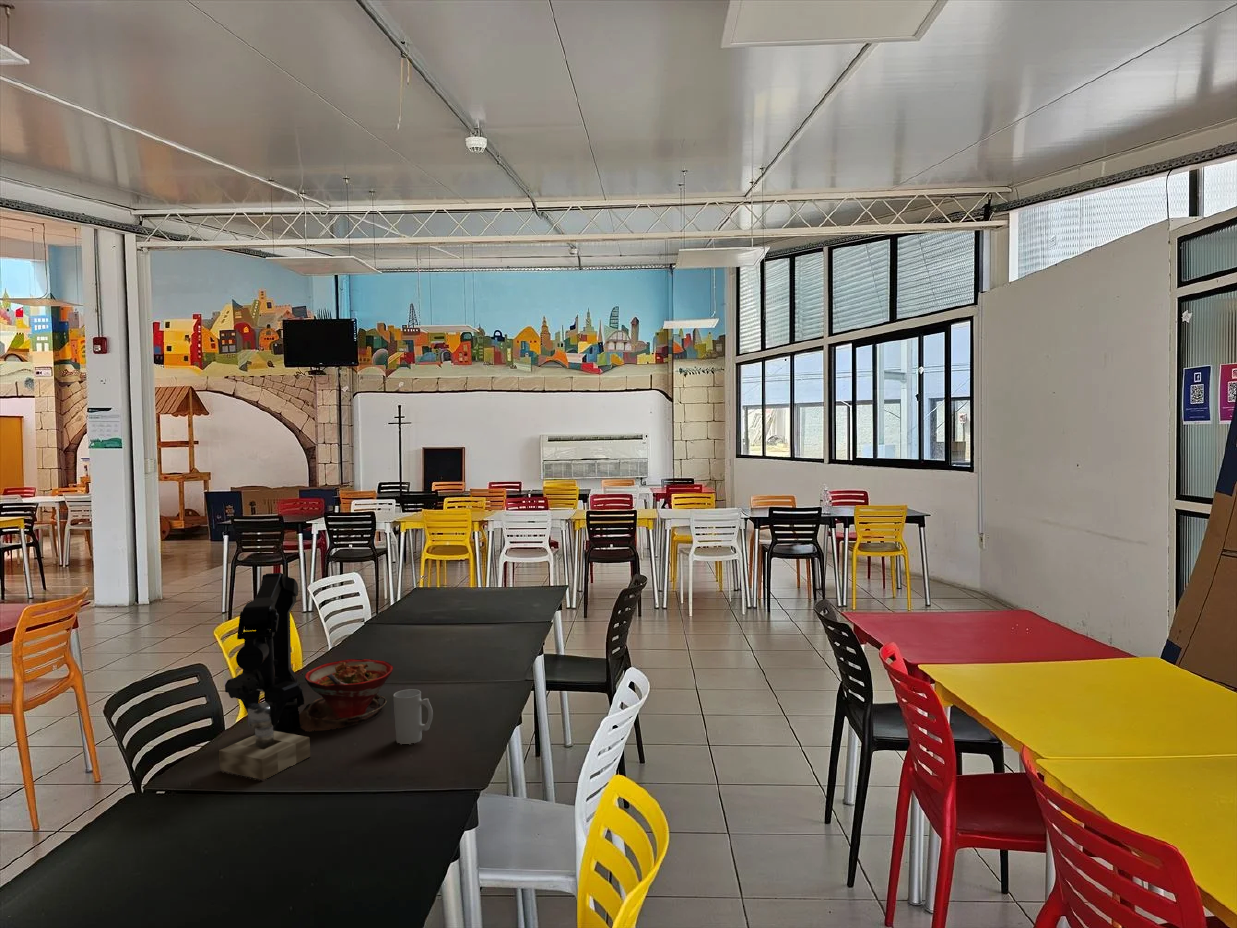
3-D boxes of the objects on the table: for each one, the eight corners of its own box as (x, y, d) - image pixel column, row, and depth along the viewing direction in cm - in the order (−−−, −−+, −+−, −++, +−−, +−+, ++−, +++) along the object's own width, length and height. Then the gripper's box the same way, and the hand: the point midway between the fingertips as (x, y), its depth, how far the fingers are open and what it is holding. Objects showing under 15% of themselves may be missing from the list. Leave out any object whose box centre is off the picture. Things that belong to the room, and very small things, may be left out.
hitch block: (219, 771, 191) (218, 750, 191) (268, 749, 204) (267, 729, 204) (263, 781, 185) (262, 759, 185) (310, 757, 198) (309, 737, 198)
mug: (390, 744, 205) (388, 697, 204) (402, 734, 211) (400, 688, 211) (427, 746, 203) (426, 699, 202) (439, 736, 209) (437, 690, 209)
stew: (364, 735, 211) (361, 674, 211) (278, 732, 215) (276, 672, 215) (409, 699, 239) (407, 644, 238) (332, 697, 243) (330, 643, 242)
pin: (243, 747, 193) (241, 709, 192) (266, 736, 199) (264, 700, 198) (263, 751, 190) (261, 713, 190) (286, 740, 196) (284, 703, 195)
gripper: (203, 663, 190) (206, 729, 191) (261, 672, 182) (264, 741, 183) (243, 650, 200) (246, 713, 201) (300, 658, 192) (303, 723, 193)
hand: (264, 723), depth 194 cm, fingers closed on pin, 7 cm apart
